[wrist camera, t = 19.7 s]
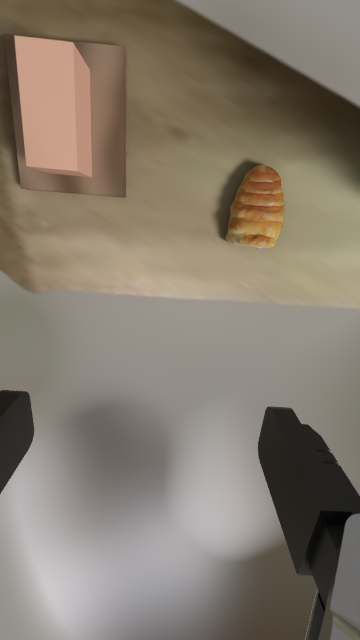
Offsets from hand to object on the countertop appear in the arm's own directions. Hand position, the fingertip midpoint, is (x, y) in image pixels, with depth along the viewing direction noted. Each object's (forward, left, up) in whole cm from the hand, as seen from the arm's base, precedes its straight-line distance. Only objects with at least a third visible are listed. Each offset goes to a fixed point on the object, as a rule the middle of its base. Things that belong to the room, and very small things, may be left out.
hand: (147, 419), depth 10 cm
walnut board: (+12, -15, -30) cm, 36 cm away
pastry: (-10, -7, -30) cm, 33 cm away
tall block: (+12, -10, -26) cm, 30 cm away
